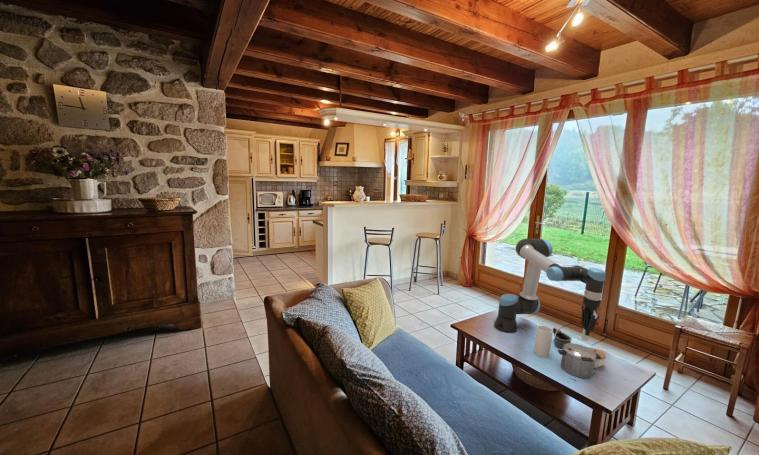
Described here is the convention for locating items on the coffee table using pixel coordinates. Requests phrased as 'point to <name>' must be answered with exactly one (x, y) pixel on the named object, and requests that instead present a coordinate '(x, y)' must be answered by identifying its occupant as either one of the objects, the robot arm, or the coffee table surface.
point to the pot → (577, 365)
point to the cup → (543, 341)
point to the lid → (580, 352)
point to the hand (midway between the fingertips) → (584, 339)
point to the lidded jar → (598, 361)
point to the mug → (561, 337)
